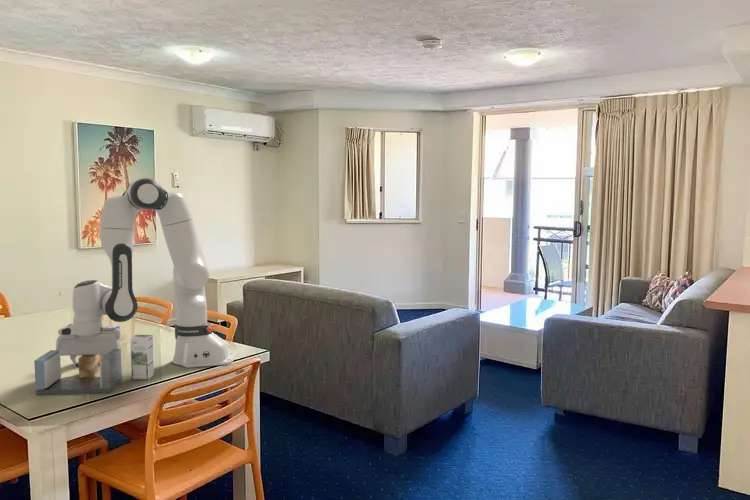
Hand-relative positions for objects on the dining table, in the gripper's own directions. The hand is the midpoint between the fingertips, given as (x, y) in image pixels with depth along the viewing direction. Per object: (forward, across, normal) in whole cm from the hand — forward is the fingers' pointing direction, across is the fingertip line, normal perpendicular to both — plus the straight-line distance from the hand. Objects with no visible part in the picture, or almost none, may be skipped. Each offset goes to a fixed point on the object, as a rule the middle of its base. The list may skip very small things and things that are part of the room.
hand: (89, 367), depth 201 cm
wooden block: (+3, 0, 0) cm, 3 cm away
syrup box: (+3, -19, +5) cm, 20 cm away
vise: (+3, -2, +14) cm, 14 cm away
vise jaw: (+1, +8, +14) cm, 16 cm away
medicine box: (+3, +4, -34) cm, 34 cm away
